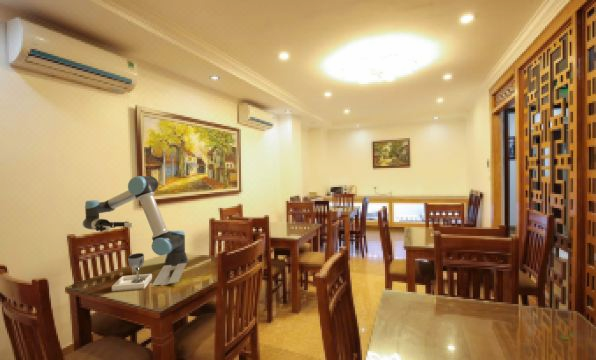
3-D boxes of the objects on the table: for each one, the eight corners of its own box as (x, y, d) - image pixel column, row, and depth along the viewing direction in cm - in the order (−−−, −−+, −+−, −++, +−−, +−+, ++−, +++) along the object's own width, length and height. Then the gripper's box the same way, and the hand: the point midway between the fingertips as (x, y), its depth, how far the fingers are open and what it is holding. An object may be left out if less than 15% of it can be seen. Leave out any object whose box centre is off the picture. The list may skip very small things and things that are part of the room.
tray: (152, 278, 178) (151, 273, 178) (144, 288, 162) (144, 283, 162) (122, 281, 174) (122, 276, 174) (111, 291, 159) (111, 286, 158)
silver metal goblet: (134, 277, 175) (132, 253, 173) (148, 276, 176) (146, 252, 174) (128, 284, 167) (125, 259, 165) (142, 283, 168) (140, 258, 166)
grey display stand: (185, 289, 171) (191, 266, 182) (178, 282, 165) (185, 258, 176) (159, 293, 173) (167, 270, 184) (151, 285, 167) (159, 262, 178)
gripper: (119, 227, 206) (139, 229, 196) (80, 233, 184) (100, 236, 174) (119, 216, 206) (139, 218, 196) (79, 221, 184) (99, 224, 174)
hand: (120, 227), depth 185 cm, fingers open, 13 cm apart
